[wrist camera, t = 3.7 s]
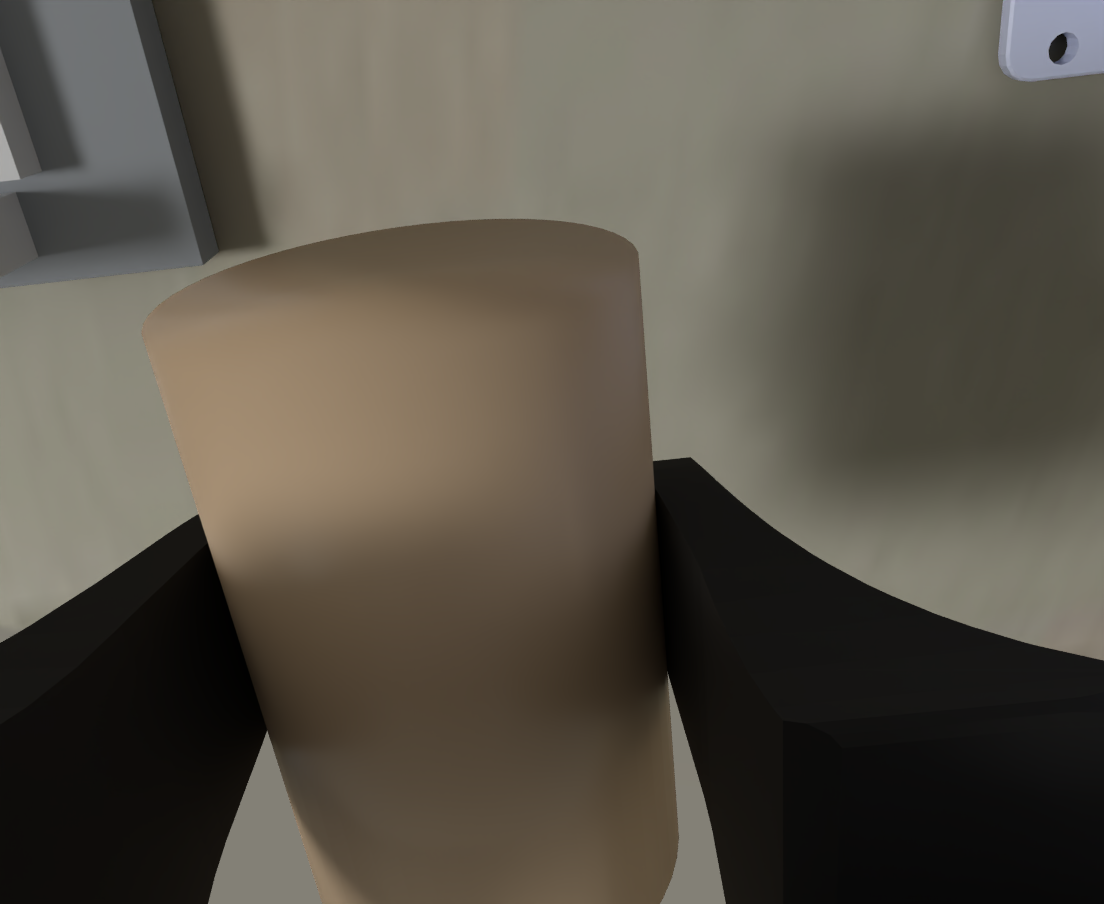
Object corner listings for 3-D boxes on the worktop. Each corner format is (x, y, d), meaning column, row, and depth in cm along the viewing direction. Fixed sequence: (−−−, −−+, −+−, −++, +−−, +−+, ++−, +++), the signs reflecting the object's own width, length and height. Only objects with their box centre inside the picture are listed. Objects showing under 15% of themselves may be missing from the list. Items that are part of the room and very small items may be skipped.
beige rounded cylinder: (646, 205, 12) (624, 352, 7) (679, 709, 15) (677, 1017, 11) (263, 236, 12) (29, 386, 8) (379, 709, 16) (262, 995, 11)
